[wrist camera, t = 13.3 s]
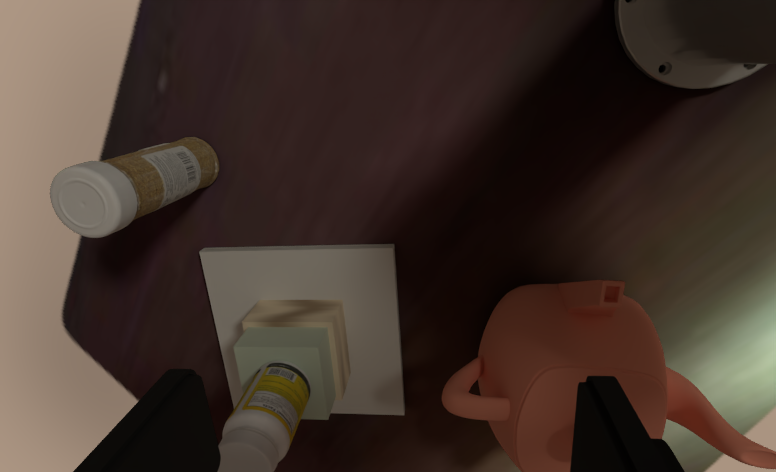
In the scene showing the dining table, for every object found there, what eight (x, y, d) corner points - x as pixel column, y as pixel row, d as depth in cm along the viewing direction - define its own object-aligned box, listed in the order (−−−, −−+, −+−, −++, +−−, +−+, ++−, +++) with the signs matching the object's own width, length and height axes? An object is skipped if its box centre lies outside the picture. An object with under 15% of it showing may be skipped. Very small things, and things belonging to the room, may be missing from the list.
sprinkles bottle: (168, 136, 39) (37, 165, 26) (218, 137, 38) (109, 167, 26) (176, 187, 40) (56, 238, 28) (224, 189, 40) (124, 241, 27)
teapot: (569, 219, 37) (634, 293, 25) (690, 349, 40) (804, 476, 28) (429, 330, 42) (423, 438, 30) (545, 438, 45) (584, 580, 33)
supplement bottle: (275, 413, 38) (232, 503, 30) (245, 370, 36) (190, 452, 29) (323, 395, 36) (291, 483, 29) (293, 350, 35) (250, 429, 27)
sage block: (327, 327, 38) (318, 347, 35) (336, 395, 40) (328, 419, 37) (248, 327, 39) (233, 346, 36) (261, 393, 41) (248, 417, 38)
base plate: (394, 243, 40) (393, 247, 39) (405, 408, 46) (404, 415, 45) (204, 247, 42) (199, 251, 41) (238, 403, 48) (234, 410, 47)
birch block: (342, 299, 41) (332, 322, 37) (350, 372, 44) (342, 400, 40) (259, 300, 42) (241, 321, 39) (272, 371, 45) (257, 398, 41)
